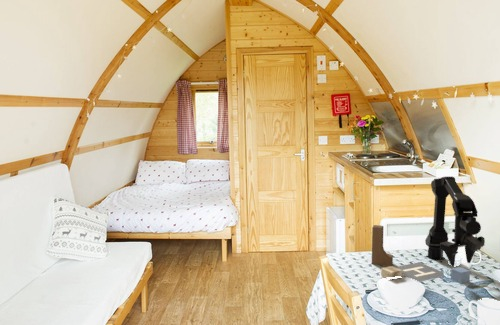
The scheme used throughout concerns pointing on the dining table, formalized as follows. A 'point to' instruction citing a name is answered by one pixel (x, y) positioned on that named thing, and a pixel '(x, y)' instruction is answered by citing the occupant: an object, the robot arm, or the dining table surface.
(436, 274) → the letter board
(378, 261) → the wooden block
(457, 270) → the blue cube
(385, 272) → the birch block
